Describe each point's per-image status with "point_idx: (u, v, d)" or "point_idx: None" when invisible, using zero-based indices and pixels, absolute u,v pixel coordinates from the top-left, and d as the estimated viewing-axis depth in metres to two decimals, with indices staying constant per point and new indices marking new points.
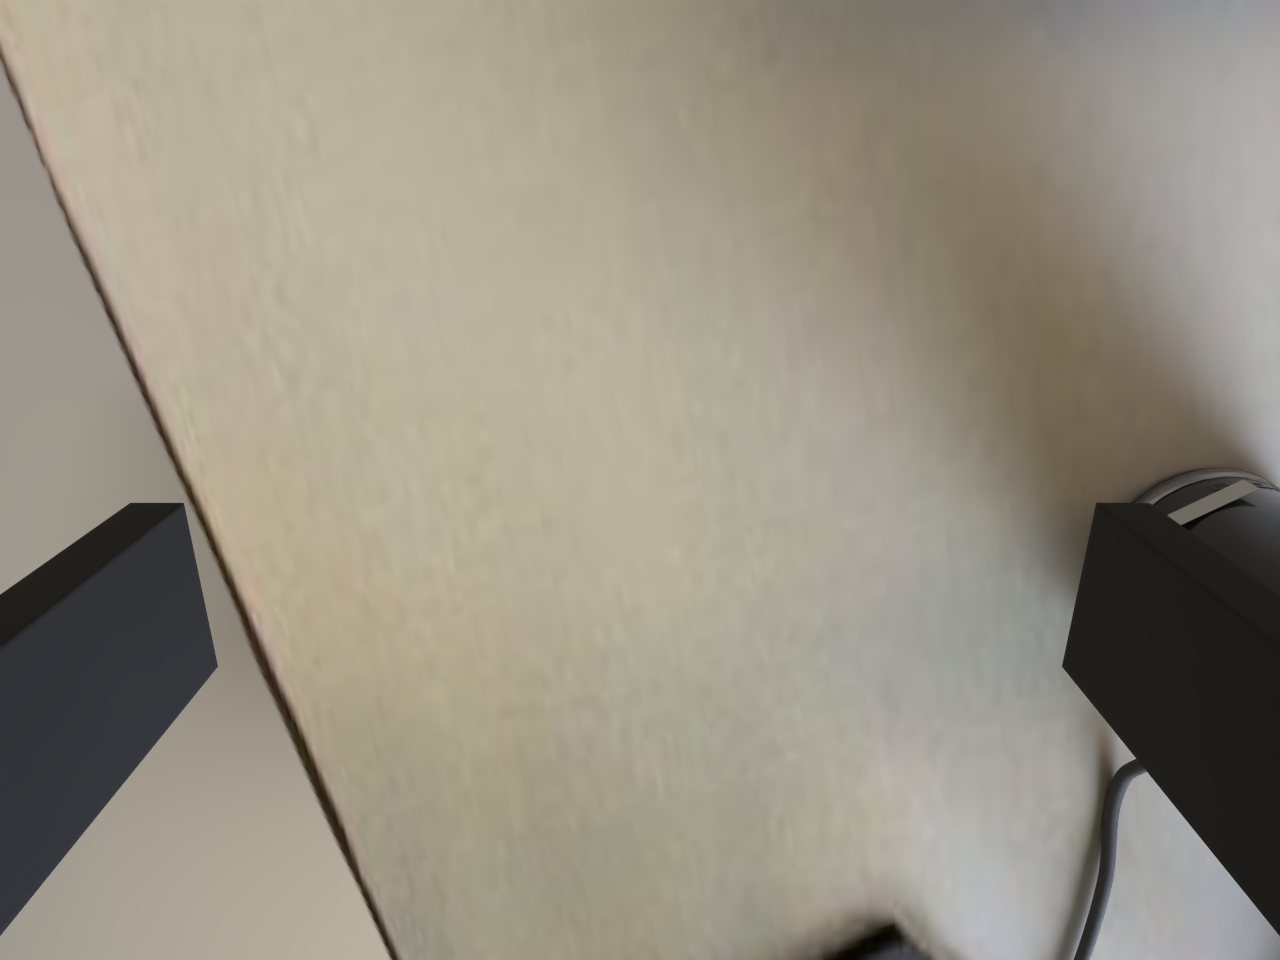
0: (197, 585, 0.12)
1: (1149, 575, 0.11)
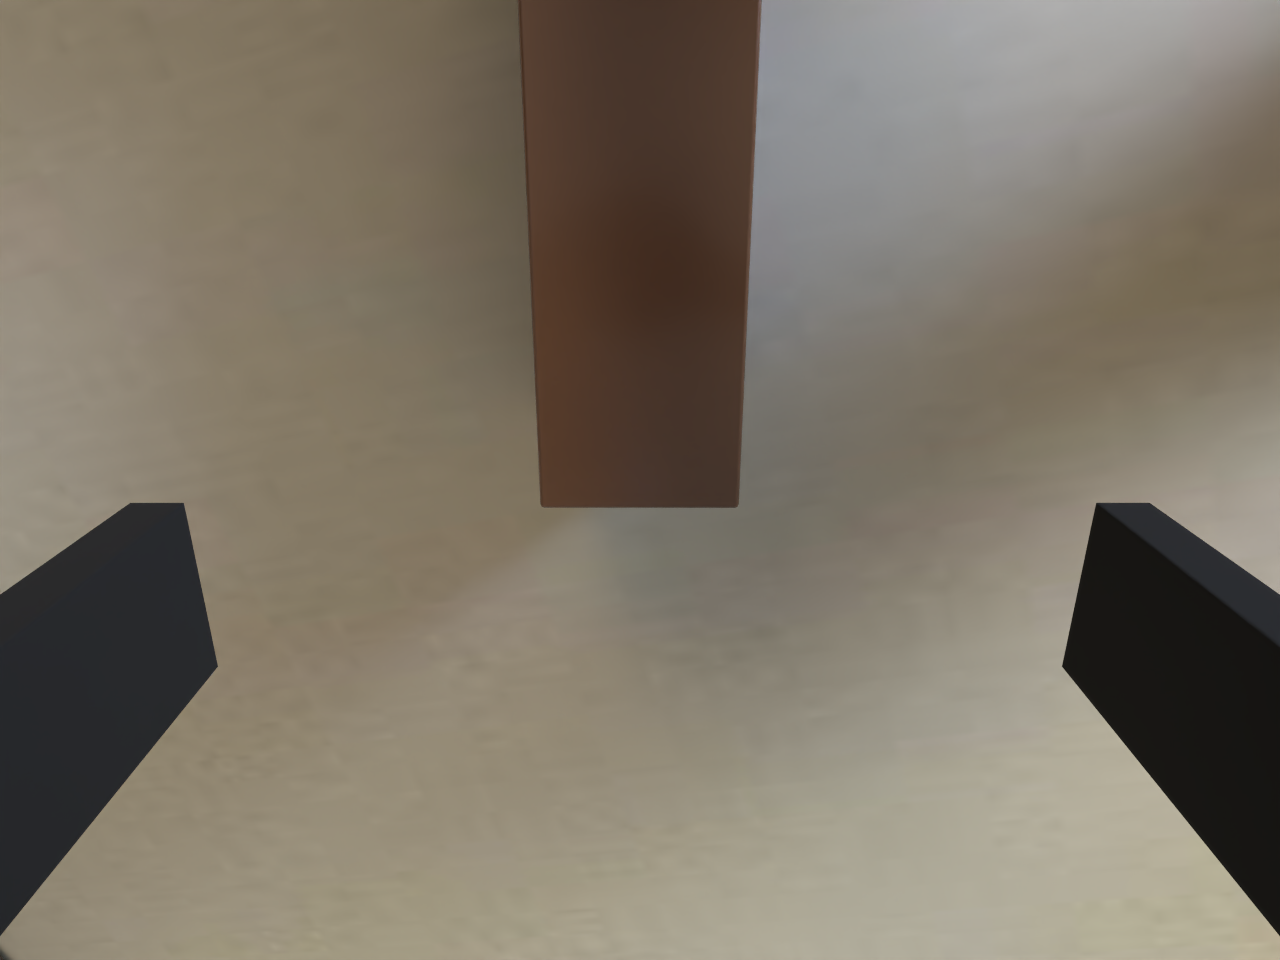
0: (197, 585, 0.12)
1: (1149, 576, 0.11)
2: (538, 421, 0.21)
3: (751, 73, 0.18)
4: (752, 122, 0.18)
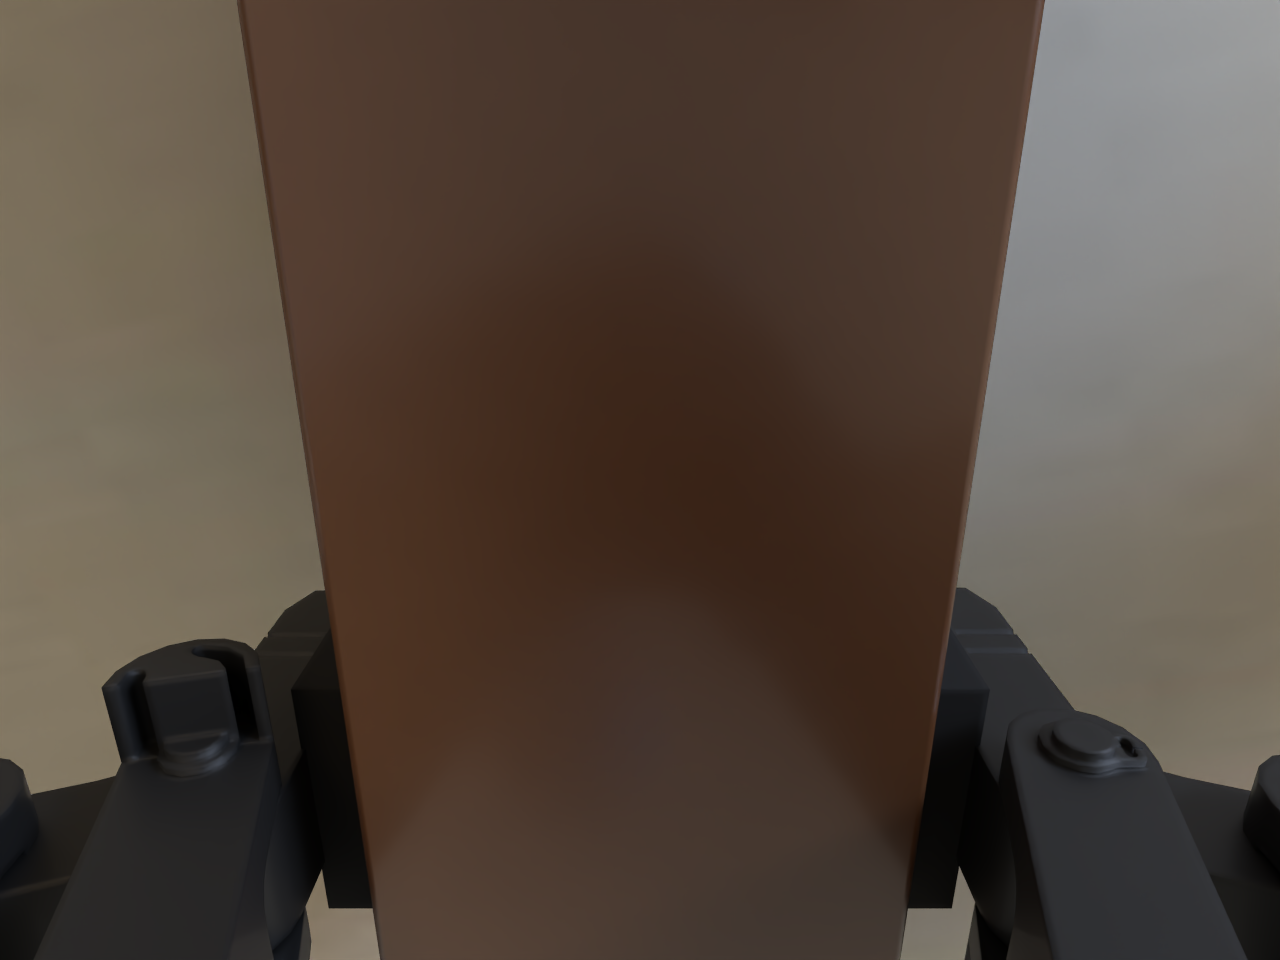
0: None
1: None
2: (371, 881, 0.08)
3: None
4: (1027, 68, 0.05)
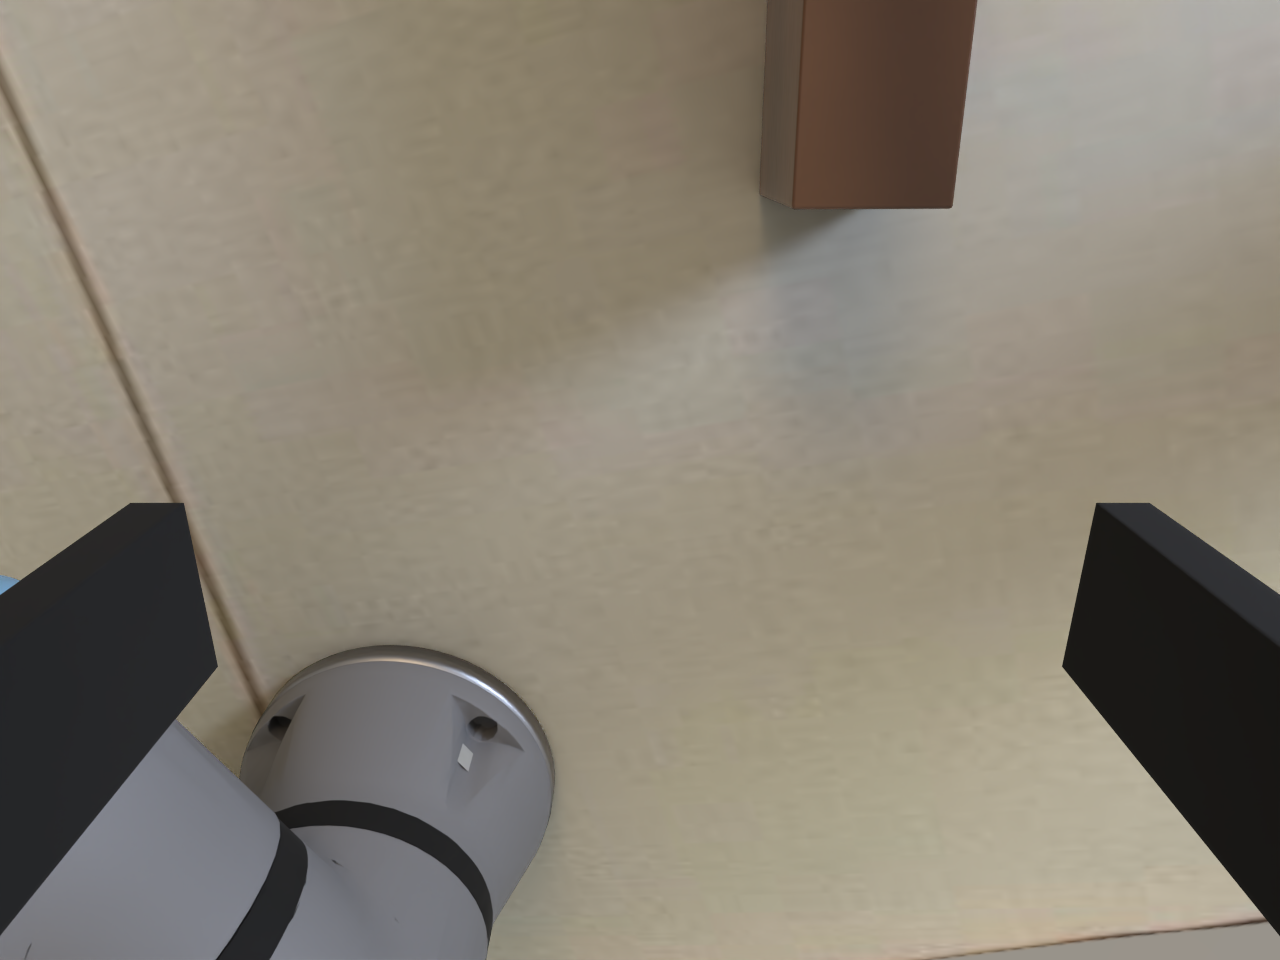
0: (197, 585, 0.12)
1: (1149, 576, 0.11)
2: (797, 130, 0.26)
3: None
4: None
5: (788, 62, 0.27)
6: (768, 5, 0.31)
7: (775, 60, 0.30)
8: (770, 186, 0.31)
